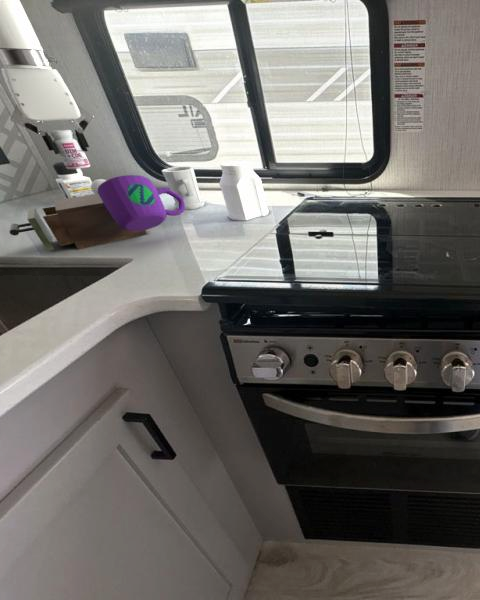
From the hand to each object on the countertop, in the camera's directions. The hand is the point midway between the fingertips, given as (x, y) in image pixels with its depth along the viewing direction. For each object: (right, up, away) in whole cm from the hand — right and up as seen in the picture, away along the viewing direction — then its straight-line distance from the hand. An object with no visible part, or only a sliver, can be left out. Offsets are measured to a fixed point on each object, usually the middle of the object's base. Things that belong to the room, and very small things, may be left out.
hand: (71, 151), depth 81 cm
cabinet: (+3, -19, +8) cm, 21 cm away
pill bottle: (0, -3, +2) cm, 4 cm away
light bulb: (-13, -7, +27) cm, 31 cm away
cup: (+11, -5, +30) cm, 33 cm away
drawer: (-3, -21, +3) cm, 22 cm away
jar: (+34, -10, +22) cm, 42 cm away
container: (-35, 0, +39) cm, 52 cm away
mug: (+19, -17, +3) cm, 26 cm away
